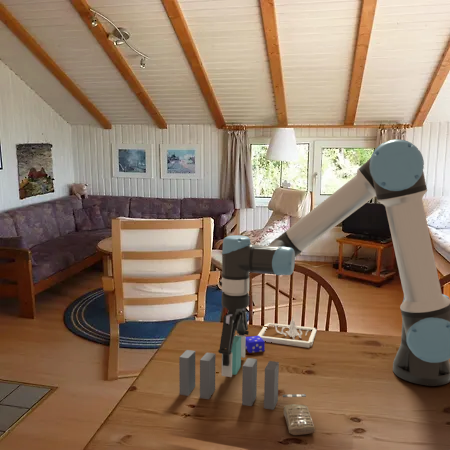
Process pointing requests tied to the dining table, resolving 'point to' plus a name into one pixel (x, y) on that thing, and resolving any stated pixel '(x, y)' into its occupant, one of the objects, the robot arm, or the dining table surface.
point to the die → (255, 344)
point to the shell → (291, 330)
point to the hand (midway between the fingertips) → (233, 365)
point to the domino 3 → (236, 355)
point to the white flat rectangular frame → (289, 341)
